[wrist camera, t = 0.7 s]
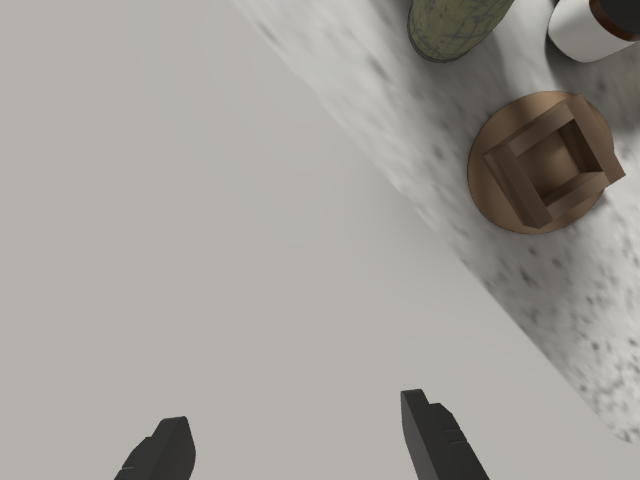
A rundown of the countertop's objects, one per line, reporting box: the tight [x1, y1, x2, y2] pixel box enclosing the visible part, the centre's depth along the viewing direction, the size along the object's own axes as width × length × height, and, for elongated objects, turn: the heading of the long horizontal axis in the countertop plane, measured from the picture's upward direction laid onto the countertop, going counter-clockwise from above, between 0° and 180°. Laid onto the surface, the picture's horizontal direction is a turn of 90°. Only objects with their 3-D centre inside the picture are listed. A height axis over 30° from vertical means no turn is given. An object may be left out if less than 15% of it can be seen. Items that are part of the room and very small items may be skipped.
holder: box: [467, 91, 626, 234], centre depth 35 cm, size 17×17×4 cm
